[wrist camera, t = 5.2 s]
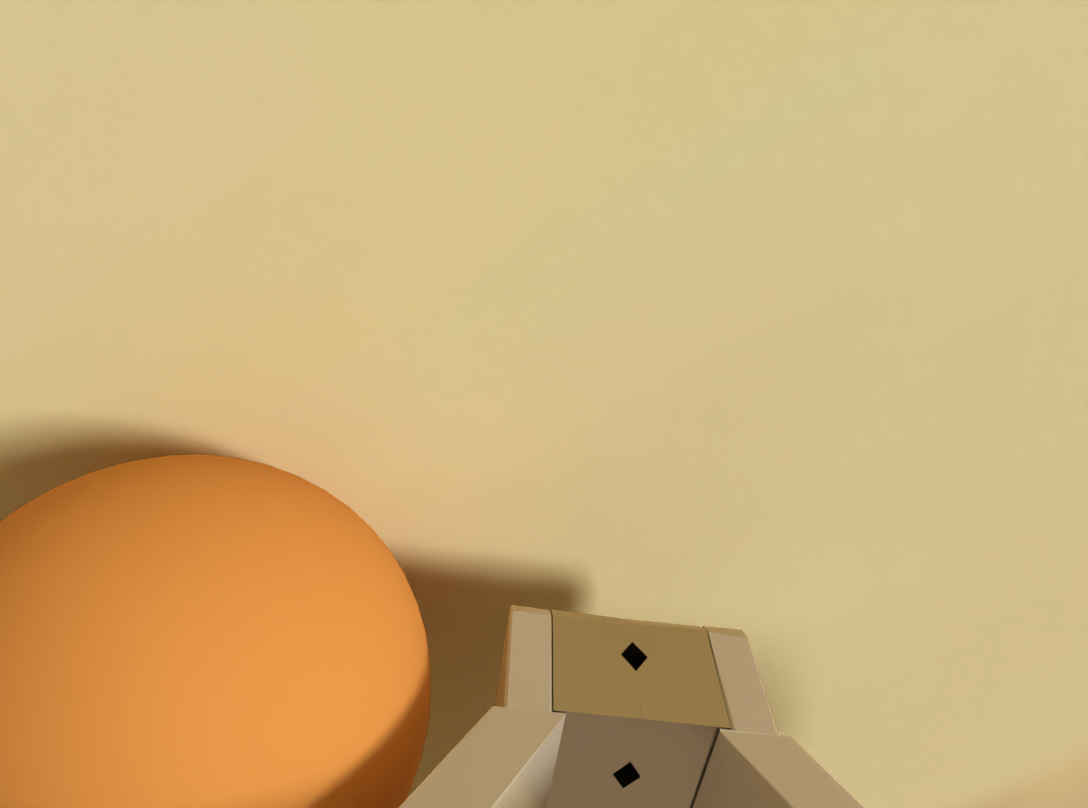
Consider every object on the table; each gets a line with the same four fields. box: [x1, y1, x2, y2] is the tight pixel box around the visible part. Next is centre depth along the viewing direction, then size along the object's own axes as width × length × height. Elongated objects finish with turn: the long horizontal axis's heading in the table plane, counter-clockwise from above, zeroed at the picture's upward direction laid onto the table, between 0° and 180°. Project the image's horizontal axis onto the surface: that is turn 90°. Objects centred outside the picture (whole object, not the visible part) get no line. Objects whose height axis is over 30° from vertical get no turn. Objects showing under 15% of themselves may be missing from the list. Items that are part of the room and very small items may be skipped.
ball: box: [0, 454, 431, 808], centre depth 9 cm, size 6×6×6 cm
